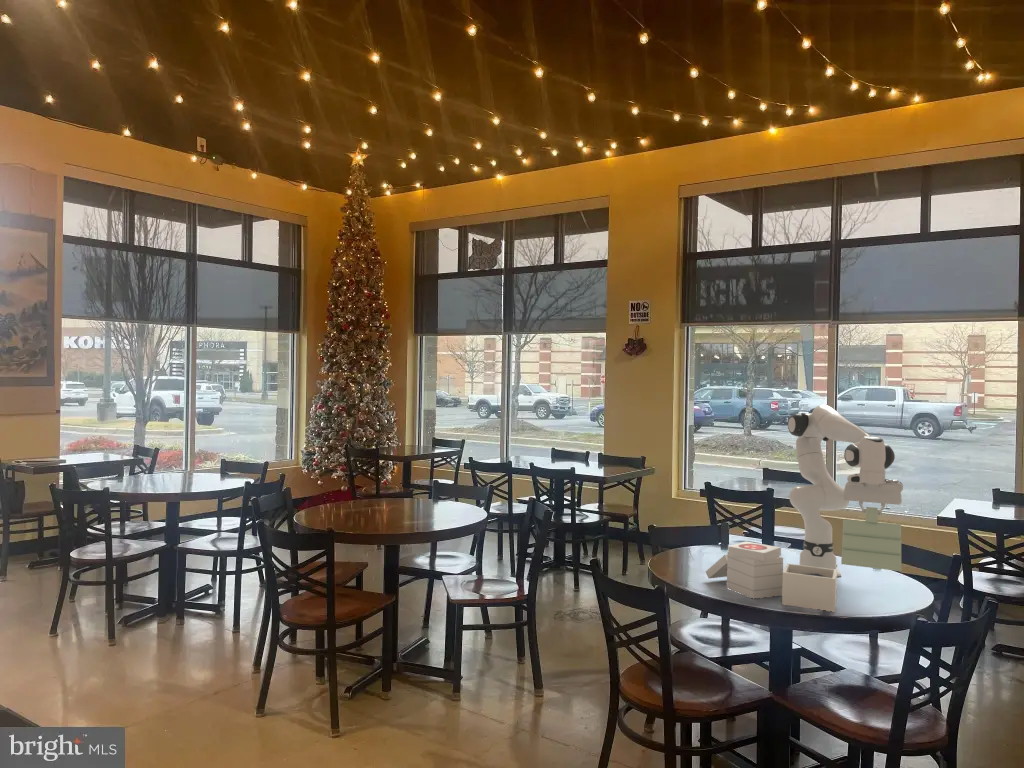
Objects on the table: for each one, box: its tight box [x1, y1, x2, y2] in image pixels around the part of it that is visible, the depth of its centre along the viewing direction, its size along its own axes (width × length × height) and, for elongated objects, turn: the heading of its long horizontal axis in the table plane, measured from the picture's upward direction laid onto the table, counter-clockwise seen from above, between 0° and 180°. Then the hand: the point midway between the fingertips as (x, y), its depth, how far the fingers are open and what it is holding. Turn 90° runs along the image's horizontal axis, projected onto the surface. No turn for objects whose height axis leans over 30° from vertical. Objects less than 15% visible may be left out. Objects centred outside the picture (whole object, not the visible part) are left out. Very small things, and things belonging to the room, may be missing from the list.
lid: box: [840, 506, 902, 572], centre depth 270 cm, size 24×20×4 cm
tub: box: [781, 563, 838, 613], centre depth 268 cm, size 16×18×12 cm
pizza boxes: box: [705, 541, 784, 600], centre depth 286 cm, size 19×30×18 cm, turn 24°
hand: (871, 514), depth 274 cm, fingers closed on lid, 4 cm apart
